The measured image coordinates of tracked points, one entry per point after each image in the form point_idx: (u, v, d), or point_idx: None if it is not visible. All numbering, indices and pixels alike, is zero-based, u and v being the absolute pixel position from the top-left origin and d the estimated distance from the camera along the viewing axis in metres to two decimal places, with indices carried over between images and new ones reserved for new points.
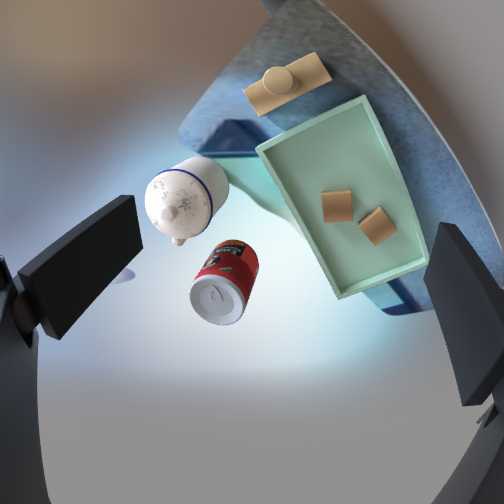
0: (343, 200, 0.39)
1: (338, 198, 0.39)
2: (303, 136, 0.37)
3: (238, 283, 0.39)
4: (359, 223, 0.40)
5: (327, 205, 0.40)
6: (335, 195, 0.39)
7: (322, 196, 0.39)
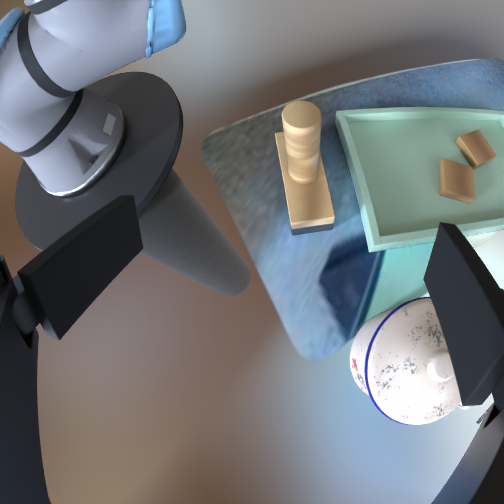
0: (451, 168, 0.27)
1: (449, 172, 0.27)
2: (372, 190, 0.29)
3: None
4: (474, 164, 0.27)
5: (456, 187, 0.26)
6: (445, 174, 0.27)
7: (446, 188, 0.26)
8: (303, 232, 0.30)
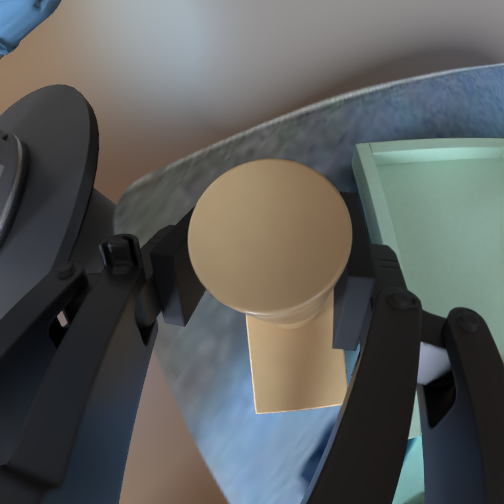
0: None
1: None
2: None
3: None
4: None
5: None
6: None
7: None
8: None
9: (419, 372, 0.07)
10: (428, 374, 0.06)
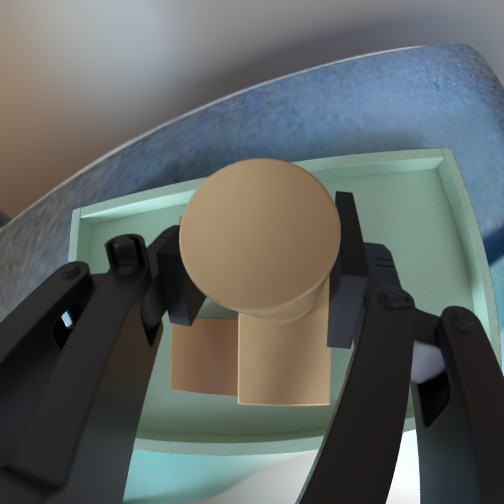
0: (188, 338, 0.15)
1: (182, 349, 0.15)
2: None
3: None
4: None
5: (196, 379, 0.15)
6: (174, 354, 0.15)
7: (173, 387, 0.15)
8: None
9: (413, 370, 0.07)
10: (422, 373, 0.06)
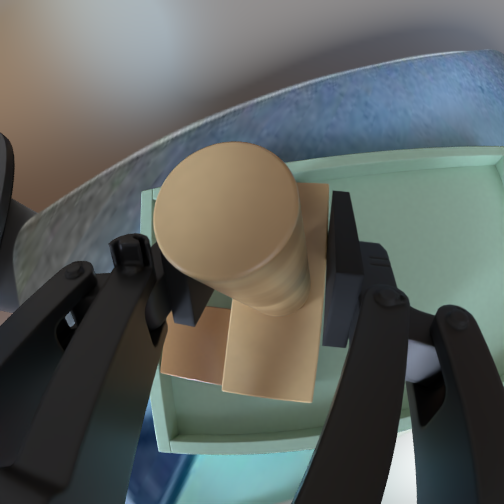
0: None
1: (175, 334, 0.16)
2: None
3: None
4: None
5: (187, 365, 0.15)
6: (167, 338, 0.16)
7: (163, 370, 0.15)
8: None
9: (408, 369, 0.07)
10: (417, 372, 0.07)
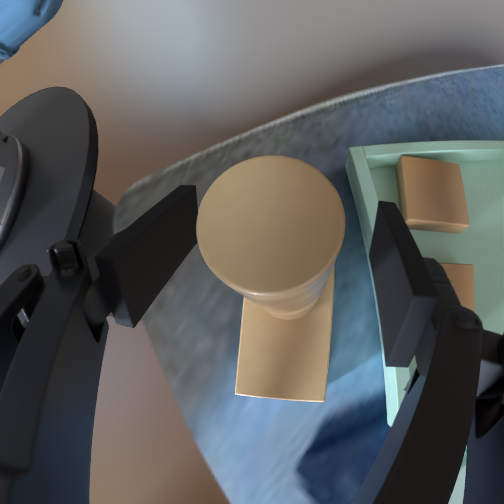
0: None
1: None
2: None
3: None
4: (404, 219, 0.15)
5: None
6: None
7: None
8: None
9: None
10: (483, 390, 0.06)
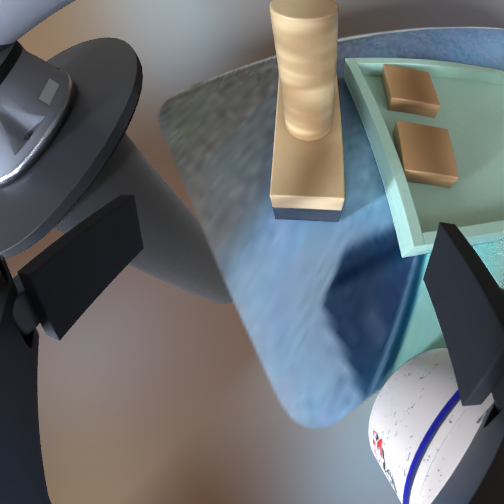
0: (413, 134, 0.17)
1: (409, 141, 0.17)
2: None
3: None
4: (389, 100, 0.19)
5: (424, 163, 0.17)
6: (404, 144, 0.17)
7: (407, 167, 0.17)
8: (292, 217, 0.19)
9: None
10: None
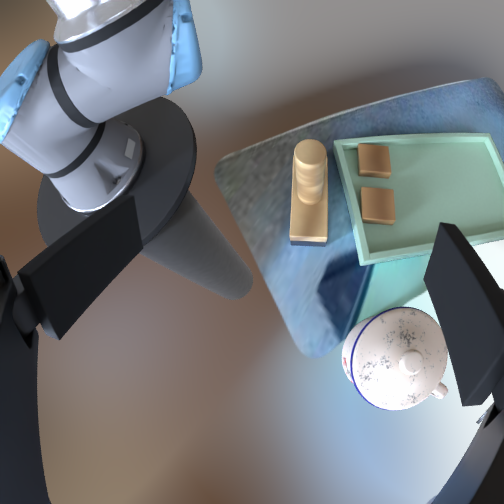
0: (370, 195, 0.33)
1: (367, 200, 0.33)
2: None
3: None
4: (359, 171, 0.35)
5: (375, 213, 0.33)
6: (363, 202, 0.33)
7: (364, 217, 0.33)
8: (300, 244, 0.35)
9: None
10: None
